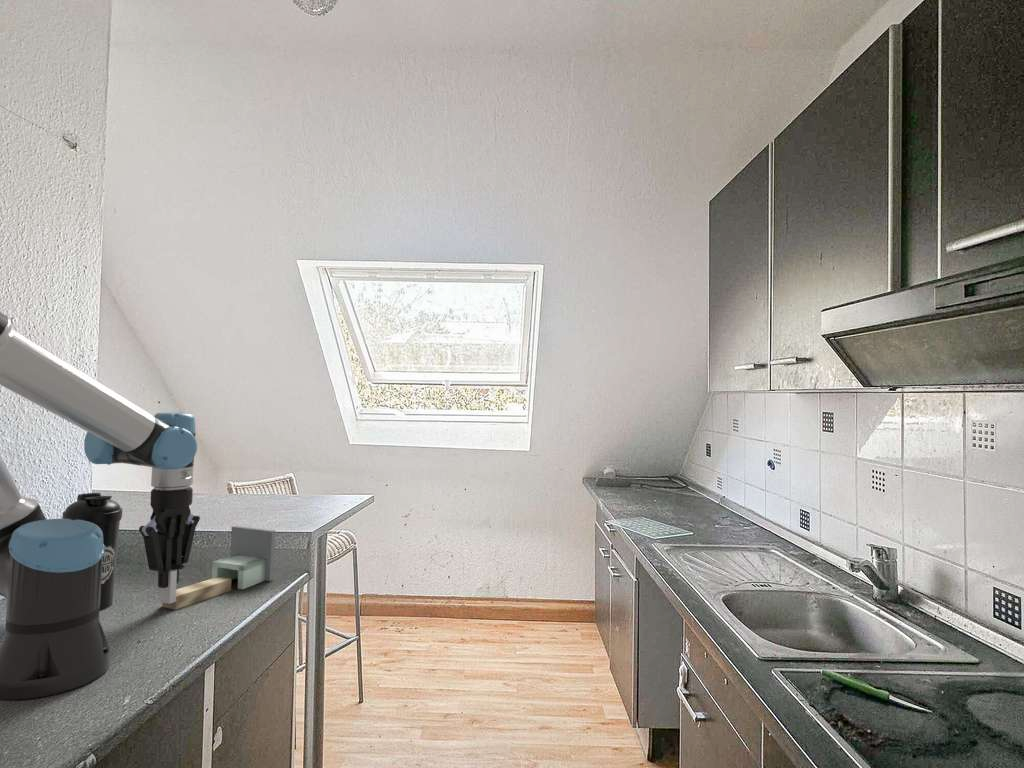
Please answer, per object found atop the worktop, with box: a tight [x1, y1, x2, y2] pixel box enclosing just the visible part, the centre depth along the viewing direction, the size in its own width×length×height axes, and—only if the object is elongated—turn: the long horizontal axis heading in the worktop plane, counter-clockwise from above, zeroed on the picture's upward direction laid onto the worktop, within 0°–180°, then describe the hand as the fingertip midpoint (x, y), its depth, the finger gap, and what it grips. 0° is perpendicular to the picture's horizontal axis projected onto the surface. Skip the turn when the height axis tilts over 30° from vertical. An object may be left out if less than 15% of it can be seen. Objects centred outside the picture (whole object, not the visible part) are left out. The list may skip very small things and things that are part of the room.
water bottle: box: [61, 492, 123, 611], centre depth 122 cm, size 10×10×23 cm
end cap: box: [211, 525, 276, 590], centre depth 141 cm, size 8×12×12 cm
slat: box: [161, 576, 232, 610], centre depth 129 cm, size 14×4×3 cm, turn 158°
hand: (167, 601), depth 121 cm, fingers closed
